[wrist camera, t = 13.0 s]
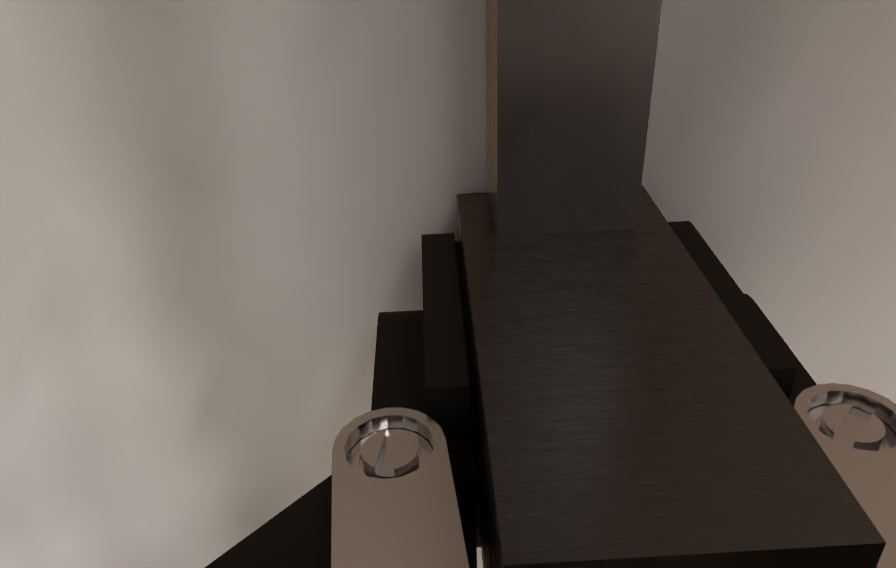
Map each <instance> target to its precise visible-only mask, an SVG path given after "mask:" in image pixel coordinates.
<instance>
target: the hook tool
mask: <svg viewBox="0 0 896 568" xmlns="http://www.w3.org/2000/svg"><path fill="white" fill-rule="evenodd" d="M661 3H662V0H487V131H488V193H478V194H458V195H457V212H458V241H460V243H461V252H462V260H463V269H464V277H465V286H466V294H467V302H468V311H469V319H470V328H471V336H472V345H473V353H474V362H475V370H476V381H477V397H478V443H479V499H480V539H481V549H482V560H483V568H876V566H877V564H878V562H879V559H880V557H881V555H882V552H883V550H884V547H885V545H886V542H885V540H884V539H883V537H882V536H881V534H880V533H879V531H878V530H877V529H876V527H875V526H874V524H873V523H872V521H871V520H870V518H869V517H868V515H867V514H866V512H865V511H864V509H863V508H862V507H861V505H860V504H859V502H858V501H857V499H856V498H855V496H854V495H853V493H852V492H851V490H850V489H849V487H848V486H847V485H846V483H845V482H844V480H843V479H842V477H841V476H840V474H839V473H838V471H837V470H836V468H835V467H834V466H833V464H832V463H831V461H830V460H829V458H828V457H827V455H826V454H825V452H824V451H823V449H822V448H821V446H820V445H819V444H818V442H817V441H816V439H815V438H814V436H813V435H812V433H811V432H810V430H809V429H808V427H807V426H806V424H805V423H804V422H803V420H802V419H801V417H800V416H799V414H798V413H797V411H796V410H795V408H794V407H793V405H792V404H791V402H790V401H789V400H788V398H787V397H786V395H785V394H784V392H783V391H782V389H781V388H780V386H779V385H778V383H777V382H776V381H775V379H774V378H773V376H772V375H771V373H770V372H769V370H768V369H767V367H766V366H765V364H764V363H763V361H762V360H761V359H760V357H759V356H758V354H757V353H756V351H755V350H754V348H753V347H752V345H751V344H750V342H749V341H748V339H747V338H746V337H745V335H744V334H743V332H742V331H741V329H740V328H739V326H738V325H737V323H736V322H735V320H734V319H733V317H732V316H731V315H730V313H729V312H728V310H727V309H726V307H725V306H724V304H723V303H722V301H721V300H720V298H719V297H718V296H717V294H716V293H715V291H714V290H713V288H712V287H711V285H710V284H709V282H708V281H707V279H706V278H705V276H704V275H703V274H702V272H701V271H700V269H699V268H698V266H697V265H696V263H695V262H694V260H693V259H692V257H691V256H690V254H689V253H688V252H687V250H686V249H685V247H684V246H683V244H682V243H681V241H680V240H679V238H678V237H677V235H676V234H675V232H674V231H673V230H672V228H671V227H670V225H669V224H668V222H667V221H666V219H665V218H664V216H663V215H662V213H661V212H660V211H659V209H658V208H657V206H656V205H655V203H654V202H653V200H652V199H651V197H650V196H649V194H648V193H647V191H646V190H645V189H644V187H643V186H642V185H641V181H642V173H643V164H644V155H645V146H646V137H647V128H648V119H649V110H650V101H651V92H652V83H653V74H654V66H655V57H656V48H657V39H658V30H659V21H660V12H661Z"/></svg>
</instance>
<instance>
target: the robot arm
mask: <svg viewBox="0 0 896 568" xmlns="http://www.w3.org/2000/svg"><path fill="white" fill-rule="evenodd" d="M668 224H669V225H670V227H671V228H672V230H673V231H674V232H675V234H676V235H677V237H678V238H679V240H680V241H681V243H682V244H683V246H684V247H685V249H686V250H687V252H688V253H689V254H690V256H691V257H692V259H693V260H694V262H695V263H696V265H697V266H698V268H699V269H700V271H701V272H702V274H703V275H704V276H705V278H706V279H707V281H708V282H709V284H710V285H711V287H712V288H713V290H714V291H715V293H716V294H717V296H718V297H719V298H720V300H721V301H722V303H723V304H724V306H725V307H726V309H727V310H728V312H729V313H730V315H731V316H732V317H733V319H734V320H735V322H736V323H737V325H738V326H739V328H740V329H741V331H742V332H743V334H744V335H745V337H746V338H747V339H748V341H749V342H750V344H751V345H752V347H753V348H754V350H755V351H756V353H757V354H758V356H759V357H760V359H761V360H762V361H763V363H764V364H765V366H766V367H767V369H768V370H769V372H770V373H771V375H772V376H773V378H774V379H775V381H776V382H777V383H778V385H779V386H780V388H781V389H782V391H783V392H784V394H785V395H786V397H787V398H788V400H789V401H790V402H791V404H792V405H793V407H794V408H795V410H796V411H797V413H798V414H799V416H800V417H801V419H802V420H803V422H804V423H805V424H806V426H807V427H808V429H809V430H810V432H811V433H812V435H813V436H814V438H815V439H816V441H817V442H818V444H819V445H820V446H821V448H822V449H823V451H824V452H825V454H826V455H827V457H828V458H829V460H830V461H831V463H832V464H833V466H834V467H835V468H836V470H837V471H838V473H839V474H840V476H841V477H842V479H843V480H844V482H845V483H846V485H847V486H848V487H849V489H850V490H851V492H852V493H853V495H854V496H855V498H856V499H857V501H858V502H859V504H860V505H861V507H862V508H863V509H864V511H865V512H866V514H867V515H868V517H869V518H870V520H871V521H872V523H873V524H874V526H875V527H876V529H877V530H878V531H879V533H880V534H881V536H882V537H883V539H884V540H885V542H886V545H885V547H884V550H883V552H882V555H881V557H880V559H879V562H878V564H877V566H876V568H896V404H895V403H894V402H892V401H891V400H889V399H888V398H886V397H884V396H881V395H879V394H877V393H875V392H872V391H870V390H867V389H863V388H860V387H856V386H852V385H845V384H835V383H830V384H820V385H817V384H816V383H815V382H814V380H813V379H812V378H811V376H810V375H809V374H808V372H807V371H806V370H805V368H804V367H803V366H802V364H801V363H800V362H799V360H798V359H797V358H796V356H795V355H794V354H793V352H792V351H791V350H790V348H789V347H788V346H787V344H786V343H785V342H784V340H783V339H782V338H781V336H780V335H779V334H778V332H777V331H776V330H775V328H774V327H773V325H772V324H771V323H770V321H769V320H768V319H767V317H766V316H765V315H764V313H763V312H762V311H761V309H760V308H759V307H758V305H757V304H756V303H755V301H754V300H753V299H752V298H751V297H750V296H749V295H748V294H743V292H742V291H741V290H740V288H739V287H738V286H737V284H736V283H735V282H734V280H733V279H732V277H731V276H730V275H729V273H728V272H727V271H726V269H725V268H724V267H723V265H722V264H721V263H720V261H719V260H718V258H717V257H716V256H715V254H714V253H713V252H712V250H711V249H710V248H709V246H708V245H707V243H706V242H705V241H704V239H703V238H702V237H701V235H700V234H699V233H698V231H697V230H696V229H695V227H694V226H693V224H692V223H691V222H689V221H681V222H668ZM422 276H423V310H418V311H399V312H380V313H379V315H378V325H377V339H376V352H375V366H374V380H373V393H372V407H371V411H369V412H367V413H365V414H363V415H361V416H359V417H356V418H355V419H353V420H352V421H351V422H350V423H348V424H347V425H346V426H345V427H343V428H342V430H341V431H340V433H339V434H338V436H337V437H336V439H335V442H334V446H333V451H332V475H331V476H329V477H328V478H327V479H325V480H324V481H322V482H321V483H320V484H318V485H317V486H316V487H314V488H313V489H312V490H310V491H309V492H307V493H306V494H305V495H303V496H302V497H301V498H299V499H298V500H297V501H295V502H294V503H292V504H291V505H290V506H288V507H287V508H286V509H284V510H283V511H282V512H280V513H279V514H277V515H276V516H275V517H273V518H272V519H271V520H269V521H268V522H266V523H265V524H264V525H262V526H261V527H260V528H258V529H257V530H256V531H254V532H253V533H251V534H250V535H249V536H247V537H246V538H245V539H243V540H242V541H241V542H239V543H238V544H236V545H235V546H234V547H232V548H231V549H230V550H228V551H227V552H226V553H224V554H223V555H221V556H220V557H219V558H217V559H216V560H215V561H213V562H212V563H211V564H209V565H208V566H206V567H205V568H477V551H476V547H481V539H480V499H479V443H478V397H477V381H476V370H475V362H474V353H473V345H472V336H471V328H470V319H469V311H468V302H467V294H466V286H465V277H464V269H463V260H462V252H461V243H460V241H455V240H454V233H446V234H426V235H422Z"/></svg>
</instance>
